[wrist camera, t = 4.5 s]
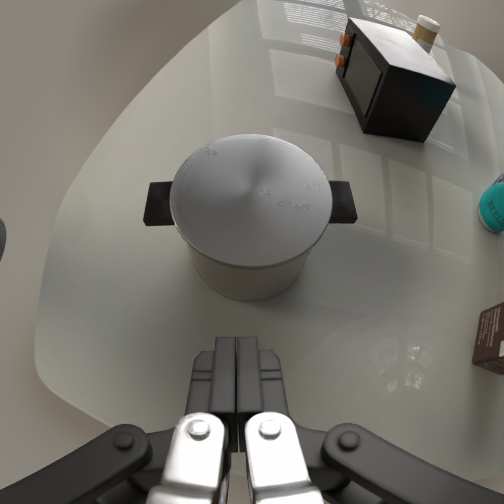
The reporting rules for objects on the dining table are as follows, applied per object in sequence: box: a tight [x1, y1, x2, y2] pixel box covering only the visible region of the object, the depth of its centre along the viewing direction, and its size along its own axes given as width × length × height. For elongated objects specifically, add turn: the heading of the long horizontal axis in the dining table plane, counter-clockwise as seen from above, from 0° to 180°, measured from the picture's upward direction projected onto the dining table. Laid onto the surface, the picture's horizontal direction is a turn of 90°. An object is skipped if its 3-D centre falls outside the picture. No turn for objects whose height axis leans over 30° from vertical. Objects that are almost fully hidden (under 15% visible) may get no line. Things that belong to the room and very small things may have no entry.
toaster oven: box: [335, 17, 456, 143], centre depth 32 cm, size 11×16×11 cm
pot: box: [143, 134, 357, 301], centre depth 22 cm, size 14×11×8 cm
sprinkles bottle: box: [412, 15, 440, 54], centre depth 38 cm, size 5×5×13 cm
